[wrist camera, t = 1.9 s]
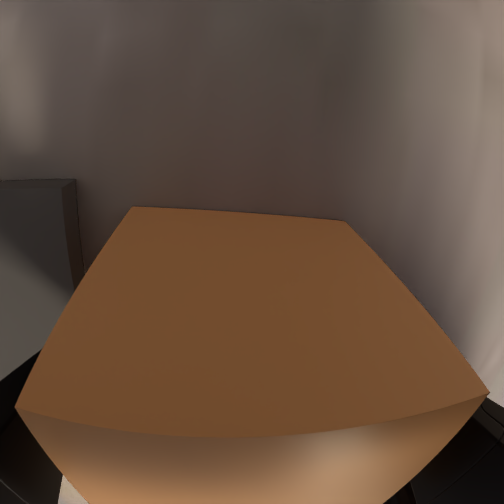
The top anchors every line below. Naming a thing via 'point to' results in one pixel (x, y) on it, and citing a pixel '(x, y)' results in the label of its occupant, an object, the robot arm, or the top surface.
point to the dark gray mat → (35, 263)
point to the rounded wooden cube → (244, 367)
